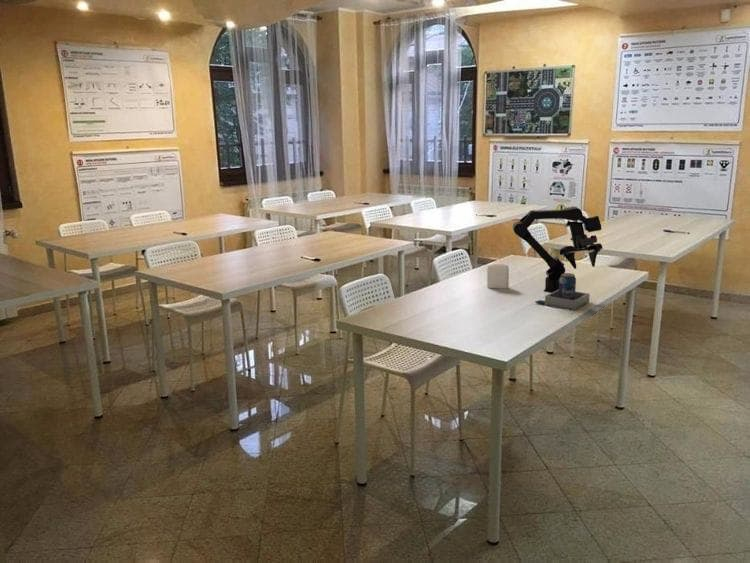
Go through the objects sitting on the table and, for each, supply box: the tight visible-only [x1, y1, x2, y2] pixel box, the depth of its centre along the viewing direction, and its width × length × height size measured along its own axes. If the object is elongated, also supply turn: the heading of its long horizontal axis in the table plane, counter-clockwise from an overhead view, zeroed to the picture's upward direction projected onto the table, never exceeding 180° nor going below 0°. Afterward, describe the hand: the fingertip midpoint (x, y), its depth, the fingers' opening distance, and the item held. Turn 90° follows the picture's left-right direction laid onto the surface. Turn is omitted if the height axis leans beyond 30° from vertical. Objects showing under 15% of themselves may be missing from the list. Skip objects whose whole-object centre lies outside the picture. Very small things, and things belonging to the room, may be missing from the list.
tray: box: [544, 289, 590, 311], centre depth 276 cm, size 14×14×4 cm
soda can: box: [558, 272, 577, 300], centre depth 275 cm, size 7×7×12 cm
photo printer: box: [486, 262, 510, 290], centre depth 304 cm, size 10×4×12 cm, turn 70°
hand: (584, 267), depth 285 cm, fingers open, 9 cm apart
